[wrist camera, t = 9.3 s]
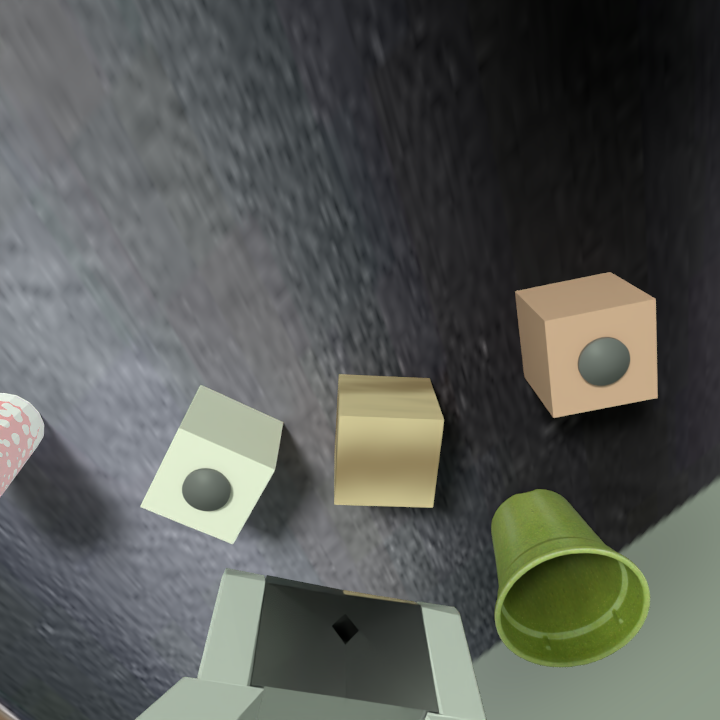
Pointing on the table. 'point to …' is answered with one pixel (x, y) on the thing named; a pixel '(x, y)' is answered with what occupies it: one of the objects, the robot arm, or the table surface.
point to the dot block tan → (588, 343)
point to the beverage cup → (17, 436)
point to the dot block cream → (216, 466)
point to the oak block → (386, 441)
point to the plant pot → (561, 584)
